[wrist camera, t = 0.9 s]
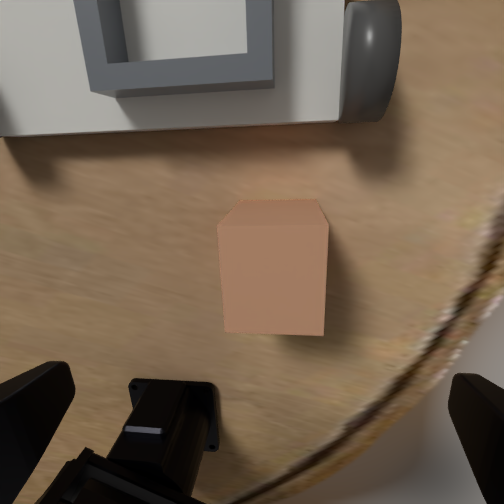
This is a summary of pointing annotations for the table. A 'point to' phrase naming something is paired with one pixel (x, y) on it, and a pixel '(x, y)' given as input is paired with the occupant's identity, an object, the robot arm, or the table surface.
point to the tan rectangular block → (274, 267)
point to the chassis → (193, 64)
